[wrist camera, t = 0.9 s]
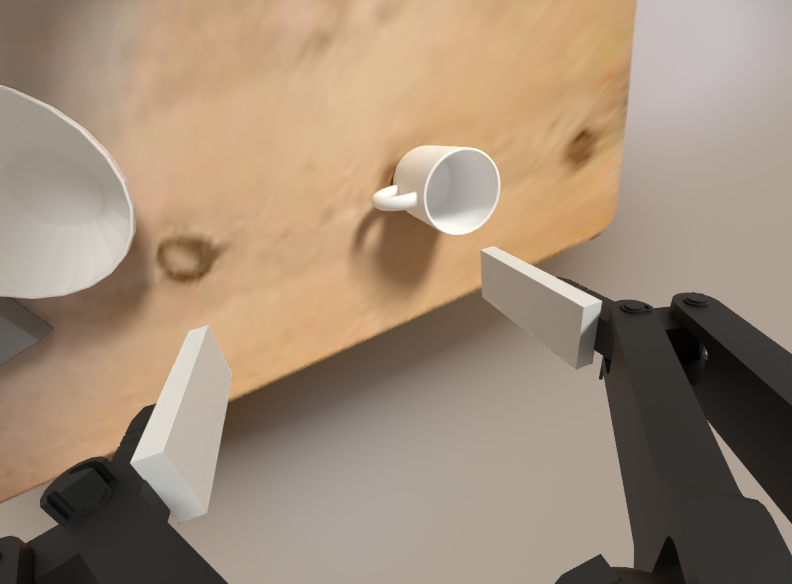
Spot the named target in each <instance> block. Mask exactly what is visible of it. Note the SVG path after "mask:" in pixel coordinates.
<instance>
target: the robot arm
mask: <svg viewBox="0 0 792 584" xmlns="http://www.w3.org/2000/svg"><path fill="white" fill-rule="evenodd" d="M481 278H482V297H483V298H484V299H486V300H487V301H488V302H490V303H491V304H492V305H493V306H495V307H496V308H497V309H498V310H500V311H501V312H502V313H504V314H505V315H506V316H508V317H509V318H510V319H511V320H513V321H514V322H515V323H516V324H518V325H519V326H520V327H522V328H523V329H524V330H525V331H527V332H528V333H529V334H531V335H532V336H533V337H534V338H536V339H537V340H538V341H540V342H541V343H543V345H545V346H546V347H547V348H549V349H550V350H551V351H552V352H554V353H555V354H556V355H558V356H559V357H560V358H561V359H563V360H564V361H565V362H567V363H568V364H569V365H571V366H572V367H573V368H574V369H576V370H577V369H579V368H582V367H584V366H587V365H589V364H592V363H593V356H594V350H595V351H597V352H598V353H600V354H601V355H603V359H602V365H601V371H600V376H599V379H601V380H602V379H603V376H604V380H605V385H606V391H607V397H608V402H609V408H610V413H611V419H612V425H613V430H614V436H615V441H616V447H617V452H618V458H619V463H620V469H621V475H622V480H623V486H624V492H625V497H626V503H627V508H628V514H629V519H630V525H631V530H632V536H633V543H634V568H627V567H610V566H609V564H608V563H607V562H606V560H605V559H604V558H603V557H602V555H601V554H599V555H598V556H596V557H594V558H592V559H590V560H589V561H586V562H585V563H583V564H581V565H579V566H577V567H576V568H573V569H572V570H570V571H568V572H566V573H564V574H562V576H561V577H560V578H559V579H558V580H557V581H556V583H555V584H792V555H791V553H790V551H789V549H788V547H787V545H786V543H785V542H784V540H783V538H782V536H781V534H780V532H779V530H778V528H777V526H776V524H775V522H774V520H773V518H772V517H771V515H770V513H769V512H768V510H767V509H766V507H765V506H764V505H763V504H762V503H760V502H759V501H758V500H755V499H750V498H746V497H744V496H743V495H742V493H741V492H740V490H739V488H738V486H737V484H736V482H735V480H734V477H733V476H732V473H731V471H730V469H729V467H728V465H727V463H726V460H725V458H724V456H723V454H722V452H721V450H720V448H719V445H718V443H717V441H716V439H715V437H714V435H713V432H712V430H711V428H710V426H709V424H708V422H709V423H710V424H711V425H712V426H713V428H714V429H715V430H716V431H717V433H718V434H719V435H720V436H721V438H722V439H723V440H724V441H725V443H726V444H727V445H728V446H729V447H730V449H731V450H732V451H733V452H734V454H735V455H736V456H737V457H738V458H739V460H740V461H741V462H742V463H743V465H744V466H745V467H746V468H747V469H748V471H749V472H750V473H751V474H752V476H753V477H754V478H755V479H756V480H757V482H758V483H759V484H760V485H761V487H762V488H763V489H764V490H765V491H766V493H767V494H768V495H769V496H770V498H771V499H772V500H773V501H774V503H775V504H776V505H777V506H778V507H779V509H780V510H781V511H782V512H783V514H784V515H785V516H786V517H787V519H788V520H789V521H790V522H791V523H792V354H791V353H790V352H788V351H787V350H785V349H784V348H783V347H781V346H780V345H778V344H777V343H776V342H774V341H773V340H772V339H770V338H769V337H767V336H766V335H765V334H763V333H762V332H761V331H759V330H758V329H757V328H755V327H754V326H752V325H751V324H750V323H748V322H747V321H746V320H744V319H743V318H741V317H740V316H739V315H737V314H736V313H734V312H733V311H732V310H730V309H729V308H728V307H726V306H725V305H724V304H722V303H721V302H719V301H718V300H716V299H714V298H712V297H710V296H706V295H704V294H701V293H699V294H697V293H693V292H692V293H680V294H676V295H674V296H673V298H672V302H671V306H670V307H661V308H653V307H652V306H650V305H648V304H646V303H644V302H640V301H636V300H619V301H616V302H614V301H612V300H610V299H608V298H606V297H604V296H602V295H600V294H598V293H596V292H594V291H592V290H588V288H586V287H583V286H580V285H579V284H578V283H575V282H573V281H571V280H569V279H565V278H561V277H554V276H552V275H550V274H548V273H545V272H544V271H542V270H540V269H538V268H536V267H534V266H532V265H530V264H528V263H526V262H524V261H522V260H520V259H518V258H516V257H514V256H512V255H510V254H508V253H506V252H504V251H502V250H500V249H498V248H496V247H494V246H493V247H489V248H486V249H482V250H481ZM706 350H707V354H708V356H707V355H706V354H705V353H706ZM232 375H233V374H232V372H231V370H230V368H229V366H228V364H227V362H226V360H225V358H224V356H223V354H222V352H221V350H220V348H219V346H218V344H217V342H216V340H215V338H214V336H213V334H212V332H211V330H210V328H209V326H204V327H201V328H197V329H194V330H190V331H189V332H188V335H187V337H186V339H185V341H184V343H183V346H182V348H181V350H180V352H179V355H178V357H177V359H176V361H175V364H174V366H173V368H172V370H171V373H170V375H169V377H168V379H167V381H166V384H165V386H164V388H163V390H162V393H161V395H160V397H159V399H158V402H157V403H156V404H153V405H150V406H146V407H144V408H143V409H142V410H141V411H140V412H139V413H138V414H137V415H136V416H135V418H134V419H133V420H132V421H131V423H130V425H129V427H128V429H127V431H126V433H125V434H126V435H125V436H124V437H123V439H122V441H121V443H120V446H119V447H118V449H117V451H116V453H115V455H114V456H113V459H112V460H111V462H109V460H108V459H107V458H104V457H101V456H100V457H93V458H90V459H87V460H85V461H82V462H80V463H78V464H76V465H74V466H73V467H71V468H69V469H68V470H66V471H65V472H64V473H63V474H61V475H60V476H59V477H58V478H56V479H55V480H54V481H53V482H52V483H51V484H50V486H49V487H48V488H47V489H46V490H45V492H44V494H43V496H42V497H41V499H40V507H41V508H42V509H43V510H44V511H45V512H46V513H47V514H49V515H50V516H51V517H52V518H53V519H54V520H55V521H56V522H57V523H58V524H59V525H57V526H55V527H54V528H52V529H50V530H48V531H46V532H45V533H43V534H42V535H39V536H38V537H36V538H34V539H33V540H31V541H29V542H27V543H26V544H25V543H24V542H23V541H22V540H20V539H19V538H18V537H13V536H7V537H3V538H0V584H228V583H227V582H226V581H225V580H224V579H223V578H222V577H221V576H220V575H219V574H218V573H217V572H216V571H215V570H214V569H213V568H212V567H211V566H210V565H209V564H208V563H207V562H206V561H205V560H204V559H203V558H202V557H201V556H200V555H199V554H198V553H197V552H196V551H195V550H194V549H193V548H192V547H191V546H190V545H189V544H188V543H187V542H186V541H185V540H184V539H183V538H182V537H181V536H180V534H178V532H177V531H176V530H175V529H174V528H172V526H170V524H169V523H168V518H169V515H170V513H171V514H172V515H173V517H174V518H175V519H176V520H177V522H178V523H179V524H180V523H183V522H185V521H188V520H190V519H193V518H196V517H198V516H201V515H203V514H206V513H207V511H208V506H209V501H210V495H211V490H212V484H213V479H214V473H215V468H216V463H217V457H218V452H219V446H220V440H221V435H222V430H223V424H224V418H225V413H226V408H227V403H228V397H229V392H230V386H231V381H232ZM706 419H707V420H708V422H707V420H706Z"/></svg>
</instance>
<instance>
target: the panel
mask: <svg viewBox="0 0 792 584" xmlns="http://www.w3.org/2000/svg"><path fill="white" fill-rule="evenodd" d="M51 330H53V328H52V327H51V326H49V325H48V324H46V323H45V322H44V321H42V320H41V319H39V318H38V317H37V316H35V315H34V314H32V313H31V312H30V311H28V310H27V309H25V308H24V307H23V306H21V305H20V304H18V303H17V302H16V301H14V300H13V299H11V298H10V297H2V296H0V365H1V364H2V363H4V362H6V361H7V360H9V359H11V358H12V357H14V356H16V355H17V354H19V353H20V352H22V351H24V350H25V349H27V348H29V347H30V346H32V345H34V344H35V343H37V342H38V341H40V340H41V339H42V338H43V337H44V336H46V335H47V334H48V333H49V332H50V331H51Z"/></svg>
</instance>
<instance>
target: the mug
mask: <svg viewBox="0 0 792 584" xmlns="http://www.w3.org/2000/svg"><path fill="white" fill-rule="evenodd" d="M499 194H500V178H499V173H498V170H497V168H496V166H495V164H494V162H493V161H492V160H491V158H490V157H489V156H488V155H487V154H485V153H484V152H482V151H480V150H478V149H475V148H468V147H449V146H421V147H417V148H415V149H413V150H411V151H409V152H408V153H407V154H406V155H405V156H404V157H403V158H402V159H401V160H400V162H399V163H398V165H397V167H396V170H395V173H394V178H393V186H390V187H387V188H384V189H382V190H380V191H378V192H376V193H375V194H374V195H373V197H372V204H373V206H374V207H375V208H377V209H379V210H383V211H401V210H405V211H407V212H408V213H409V214H411V215H413V216H414V217H416V218H418V219H420V220H421V221H423V222H425V223H427V224H428V225H430V226H432V227H434V228H435V229H437V230H439V231H441V232H442V233H445V234H448V235H453V236H460V235H466V234H469V233H471V232H473V231H475V230H477V229H478V228H480V227H481V226H482V225H483V224H484V223H485V222H486V221H487V220H488V219H489V218H490V216H491V215H492V213H493V211H494V209H495V207H496V205H497V202H498V199H499Z"/></svg>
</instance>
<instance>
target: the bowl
mask: <svg viewBox="0 0 792 584" xmlns="http://www.w3.org/2000/svg"><path fill="white" fill-rule="evenodd" d="M135 232H136V205H135V202H134V199H133V196H132V193H131V190H130V187H129V184H128V181H127V179H126V178H125V176H124V174H123V173H122V171H121V170H120V168H119V166H118V165H117V163H116V162H115V160H114V158H113V157H112V155H111V154H110V153H109V152H108V151H107V150H106V149H105V148H104V147H103V146H102V145H101V144H100V143H99V142H98V141H97V140H96V139H95V138H94V137H93V136H92V135H91V134H90V133H89V132H88V131H87V130H86V129H85V128H83V127H82V126H81V125H79V124H78V123H76V122H75V121H73V120H72V119H71V118H69V117H68V116H66V115H65V114H63V113H62V112H60V111H59V110H58V109H56V108H55V107H52V106H50V105H48V104H46V103H44V102H42V101H39V100H37V99H35V98H33V97H31V96H29V95H26V94H24V93H22V92H20V91H18V90H15V89H13V88H10V87H7V86H3V85H0V296H2V297H15V298H27V299H38V298H48V297H57V296H65V295H68V294H71V293H74V292H77V291H80V290H83V289H86V288H89V287H92V286H93V285H95V284H96V283H98V282H99V281H101V280H102V279H104V278H105V277H107V276H108V275H110V274H112V273H113V271H114V270H115V269H116V268H117V266H118V265H119V264H120V262H121V261H122V260H123V259H124V257H125V256H126V255H127V253H128V252H129V250H130V247H131V244H132V241H133V238H134V235H135Z"/></svg>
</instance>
